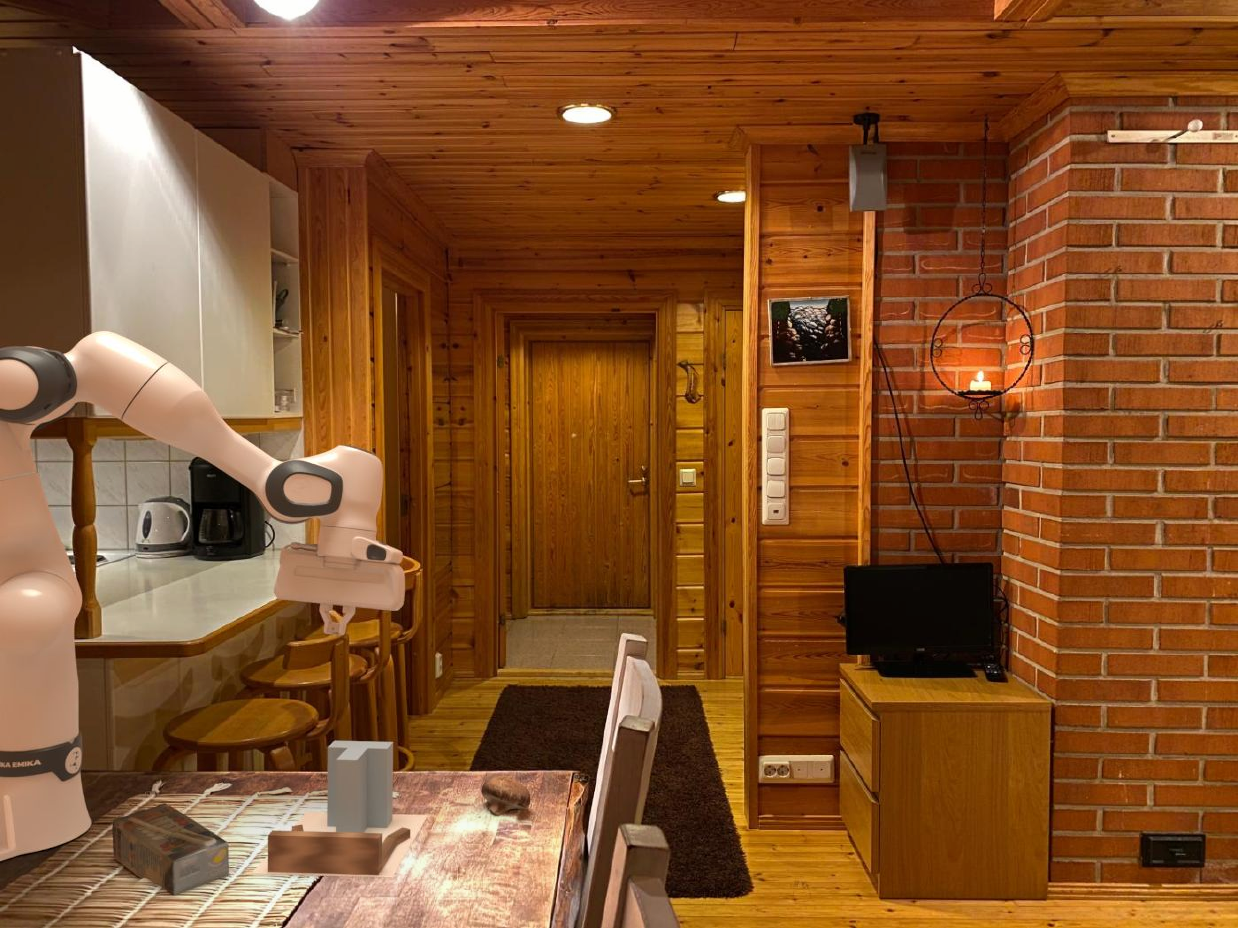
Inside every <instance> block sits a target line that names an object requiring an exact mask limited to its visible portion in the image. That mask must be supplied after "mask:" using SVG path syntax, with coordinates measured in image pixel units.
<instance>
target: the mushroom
mask: <svg viewBox="0 0 1238 928" xmlns="http://www.w3.org/2000/svg"><path fill="white" fill-rule="evenodd" d="M480 792H481V794H482V797H483V798H484V799H485V800H486V801H488V802H489V803H490V806H489V808H488V809H489V810H490V811H491V812H492V813H493V814H494V815H495V816H496V817H500V816H502V815H504V814H505V813H506V812H509V811H510V810H514V809H515V810H516V809H517V810H518V811H522V810H523V811H524V810H527V809H528V808H529V807H530V805H531V794H530V791H529V790H528V788H527V787H526V786H525V784H523V783H521V782H519V781H517V780H515V779H512V778H509V777H505V776H493V777H491V778H489V779H487V780H486V781H485V782H484V783H483V784H482V786H481V790H480Z"/></svg>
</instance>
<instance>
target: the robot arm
mask: <svg viewBox="0 0 1238 928" xmlns="http://www.w3.org/2000/svg"><path fill="white" fill-rule="evenodd" d="M81 402H82V403H89V404H91V405H94V406H96V407H99V408H101V409H103V410H104V411H106V412H108V413H109V414H111V415H112V416H114V417H115V418H117V419H118V420H119V421H122V422H123V423H124V424H125V425H127V426H129V427H131V428H133V430H137V431H139V432H140V433H142V434H144V435H146V436H148V437H150V438H152V439H155V440H157V441H159V442H161V443H164V444H166V445H168V446H169V445H170V446H171V447H174V448H176V449H179V450H182V451H185V452H188V453H190V454H192V455H194V456H196V457H199V458H201V459H203V460H205V461H206V462H208V463H210V464H212V466H214V467H216V468H217V469H219V470H221V471H222V472H223V473H225V474H226V475H227V476H229V477H231V478H232V479H233V480H235V481H237V482H238V483H240V484H241V485H243V486H244V487H246V488H247V489H248V490H249V491H251V492H252V493H253V494H254V496H255V497H256V499H257V501H258V502H259V504H260V506H262V509H263V510H264V511H265V512H266V514H267V515H268V516H269V517H270V518H272V519H274V520H275V521H276V522H279V523H281V524H285V525H298V524H302V523H306V522H308V521H309V520H311V519H312V518H313V519H318V520H319V521H320V526H319V534H318V540H317V544H316V543H301V542H296V541H295V542H291V543H290V544H287V545H284V547H282V549H281V550H280V554H279V560H278V561H279V570H278V571H277V572H278V573H277V575H276V578H275V584H274V588H273V593H274V595H275V597H276V598H277V599H278V600H284V601H293V602H294V601H296V602H302V603H303V602H304V603H305V602H306V603H314V604H315V603H316V604H320V605H319V613H320V616H321V618H322V620H323V623H324V626H323V634H326V635H329V634H330V635H335V636H344V635H345V634H346V628H347V624H348V623H349V622H350V621H351V619H352V618H353V617H354V615H356V608H363V609H372V610H382V611H383V610H384V611H390V612H391V611H393V612H394V611H399V610H400V609H401V608H402V607H403V606H404V604H405V603H404V602H405V595H406V594H405V593H406V576H405V575H406V574H405V571H404V569H403V568H402V566H400V565H399V564H401V563H402V562H403V559H404V558H403V557H404V554H403V552H402V551H401V550H399V549H397V548H395V547H393V546H390V545H388V544H387V543H385V542H382V541H378V540H377V532H378V527H377V517H378V516H377V515H378V512H379V510H380V508H381V504H382V503H381V502H382V496H383V495H382V494H383V485H384V481H383V480H384V470H383V469H384V468H383V464H382V463H383V462H382V461H381V460H380V458H379V456H377V455H376V454H375V453H373V452H371V451H369V450H367V449H364V448H361V447H358V446H355V445H348V444H339V445H337V446H336V447H334V448H332V449H330V450H327V451H325V452H321V453H320V454H319V453H318V454H316V455H311V456H307V457H302V458H301V457H299V458H293V459H288V460H285V461H281V460H278V459H277V458H274V457H272V456H271V455H269V454H268V453H266V452H265V451H263V450H262V449H260V448H259V447H258V446H256V445H255V444H253V443H252V442H250V441H249V440H248V439H246V438H245V437H243V436H242V435H241V434H239V433H238V432H236V430H234V429H232V428H231V427H230V426H229V425H228V424H227V423H226V421H224V419H223V417H221V415H220V414H219V413H218V412H219V411H217V409H216V408H215V406H214V404H213V402H212V400H211V398H210V397H209V395H208V393H207V392H205V391H204V389H203V388H202V387H201V386H200V385H198V383H197V382H196V381H195V380H193V379H192V378H191V377H190V376H189V375H187V374H186V372H184V371H183V370H181V369H180V368H179V367H177V366H175V365H174V364H172V363H171V362H170V361H168V360H167V359H165V358H164V357H162V356H160V355H159V354H157V353H156V352H153V351H152V350H150V349H148V348H147V347H145V346H143V345H141V344H139V343H137V342H136V341H133V340H131V339H129V338H127V337H125V336H123V335H120V334H118V333H115V332H112V331H108V330H99V331H95V332H93V333H90V334H87V336H85V337H83V338H82V339H80V341H78V342H77V343H76V345H75V346H74V347H73V348H71V350H69V351H68V352H66V353H62V352H61V351H58V350H54V349H46V348H42V347H40V346H39V347H38V346H32V345H31V346H29V345H27V346H21V345H20V346H19V345H14V346H6V347H1V348H0V862H2V861H5V860H8V859H11V858H14V857H17V856H20V855H25V854H29V853H30V854H31V853H35V852H39V851H42V850H48V849H50V848H54V847H58V846H60V845H62V844H65V843H67V842H70V841H72V840H74V839H76V838H78V837H80V836H81V835H83V834H84V833H86V832H87V831H88V830H89V829H90V828H91V826H92V819H91V817H90V814H89V811H88V809H87V805H86V801H85V800H86V799H85V796H84V790H83V784H82V778H81V777H82V776H81V771H82V764H83V737H82V736H83V734H82V732H81V731H80V730H79V678H78V677H79V676H78V669H77V661H76V660H77V659H76V658H77V657H76V646H75V645H76V643H75V625H76V618H78V616H79V613H80V612H81V609H82V607H83V605H82V604H83V594H82V590H81V587H80V584H79V582H78V580H77V576H76V573H75V571H74V569H73V565H72V563H71V561H70V558H69V555H68V553H67V551H66V548H65V546H64V544H63V541H62V539H61V537H60V535H59V532H58V530H57V527H56V525H55V522H54V519H53V517H52V513H51V510H50V507H49V504H48V501H47V497H46V494H45V491H44V487H43V485H42V481H41V479H40V476H39V472H37V471H38V468H37V466H36V463H35V460H34V457H33V454H32V453H33V452H32V450H31V444H30V443H31V435H32V433H33V432H37V431H39V430H41V429H44V428H45V427H47V426H49V425H50V424H52V423H54V422H56V421H58V420H61V419H63V418H64V417H66V416H67V415H69V414H70V413H71V412H73V411H74V410H75V409H76V408H77V407H78V406H79V404H80V403H81ZM334 606H341V607H342V613H343V614H345V615H344V616H343V617H342V618H341V620H340V621H339V622H333V620H332V617H331V614H330V612H332V611H333V608H334Z"/></svg>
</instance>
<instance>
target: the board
mask: <svg viewBox="0 0 1238 928" xmlns="http://www.w3.org/2000/svg"><path fill="white" fill-rule="evenodd" d="M428 816H429V815H428V814H405V813H404V814H400V813H398V814H397V813H396V814H395V813H392V821H391V823H390V824H389V826H388V827H387V828H366V830H365V831H364V833H382V843H383V841H384V840H385V838H386V837H388V835H390V834H391V833H393V832H395V831H397V830H398V829H400V828H402V827H403V828H407V829H410V838H409V839H407V840H405V841H404V842H402V843H400V844H398V845H397V846H396V847H395V849H394V851H393V852H392V854H391V856H390V857H389V859H388V861H387V862H386V864H385V866H384V867H383V869H382V871H381V872H380V874H379V875H355V874H319V873H284V872H268V854H267V856H265V857H264V859H263V860H262V861H261V862H260V863H259V864H258V866H256V868H255V869H253V871H252V872H251V873H250V874H251V875H276V876H277V875H279V876H280V875H285V876H314V877H315V876H316V877H318V876H321V877H351V878H352V877H355V878H356V877H358V878H386V879H387V878H388V879H389V878H391V879H393V878H394V876H395V874H396V873H397V870H398V869H399V867H400V865H401V863H402V862H403V860H404V859H405V857H406V855H407V853H408V852H409V849H410V848H411V846H412V844H413V843H414V841H415V839H416V837H417V836H418V834H419V832H420V830H421V828H422V826H423V825H424V823H425V821H426V819H427V818H428ZM296 825H303V830H304V831H313V832H336V827H327V811H325V812H323V811H320V812H319V811H306V812H305V813H304V814H303V815H302V817H300V818H299V820H298V821H297V822H296V823H295V824H294V825H293V826H296ZM289 831H292V828H291V829H289Z"/></svg>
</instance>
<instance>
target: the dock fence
mask: <svg viewBox="0 0 1238 928" xmlns="http://www.w3.org/2000/svg"><path fill="white" fill-rule="evenodd" d="M291 829H292V831H290V830H271V831H270V832H269V833H268V834H267V855H268V872H284V873H319V874H355V875H379V874H380V872H381V871H382V869H383V867H384V866H385V864H386V862H387V861H388V859H389V857H390V856H391V854H392V852H393V851H394V849H395V847H396V846H397V845H398V844H400V843H402V842H404V841H405V840H407V839H409V838H410V829H407V828H403V827H402V828H400V829H398V830H397V831H395V832H393V833H391V834H390V835H388V837H386V838H385V840H384V841H383V843H382V833H350V832H313V831H304V830H303V825H296V826H294V825H291Z"/></svg>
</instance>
